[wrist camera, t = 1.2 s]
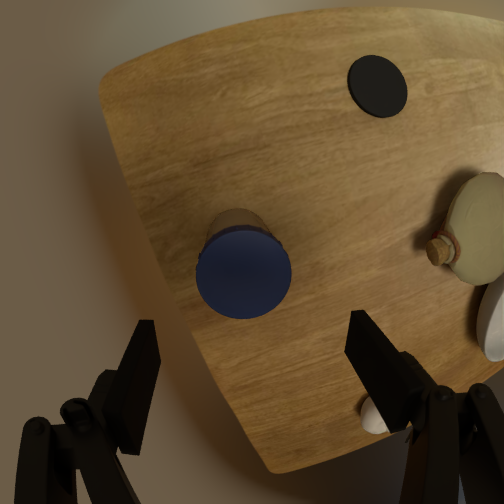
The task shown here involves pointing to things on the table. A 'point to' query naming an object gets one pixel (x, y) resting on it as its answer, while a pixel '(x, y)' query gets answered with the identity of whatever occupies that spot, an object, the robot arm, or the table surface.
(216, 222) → the jar
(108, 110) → the table surface
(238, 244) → the jar lid
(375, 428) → the apple
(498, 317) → the serving bowl
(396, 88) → the coaster
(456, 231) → the flask
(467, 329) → the table surface
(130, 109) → the table surface
